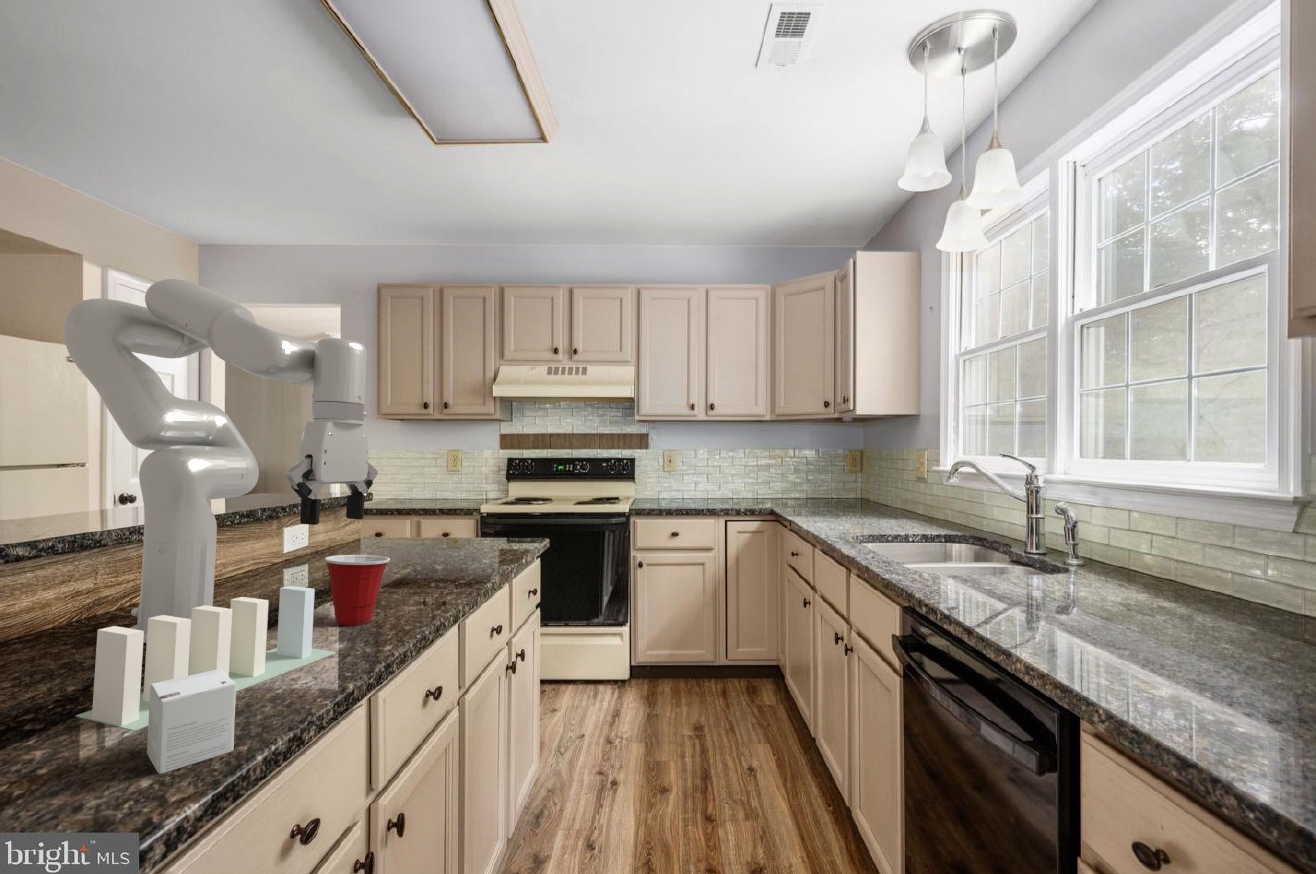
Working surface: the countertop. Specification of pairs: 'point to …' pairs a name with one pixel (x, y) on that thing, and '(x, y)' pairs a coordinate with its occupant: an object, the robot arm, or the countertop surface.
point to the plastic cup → (355, 586)
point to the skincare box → (190, 719)
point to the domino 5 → (295, 621)
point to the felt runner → (273, 668)
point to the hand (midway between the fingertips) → (333, 520)
